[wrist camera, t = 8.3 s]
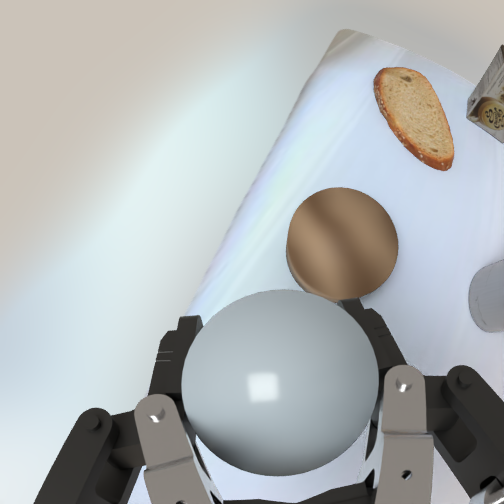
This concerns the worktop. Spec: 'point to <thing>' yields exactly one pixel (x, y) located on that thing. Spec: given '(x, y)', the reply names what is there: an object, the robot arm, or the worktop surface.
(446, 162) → the bread slice
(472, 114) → the coffee box
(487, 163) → the worktop surface
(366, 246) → the walnut round
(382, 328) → the robot arm
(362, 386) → the dome-topped grey cylinder
